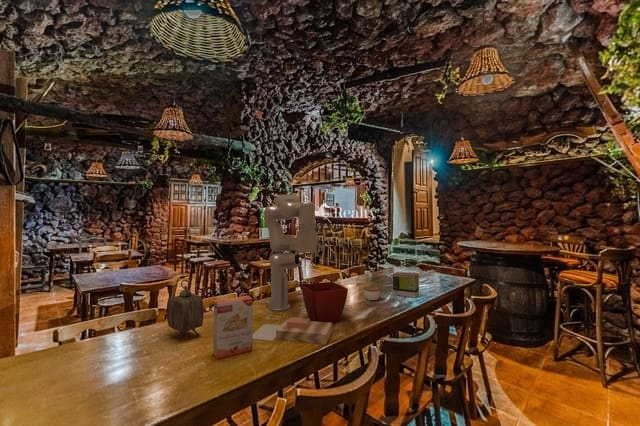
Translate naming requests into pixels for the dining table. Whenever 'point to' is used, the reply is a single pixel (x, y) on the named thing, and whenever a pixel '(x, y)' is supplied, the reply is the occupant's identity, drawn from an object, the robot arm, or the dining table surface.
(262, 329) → the mat
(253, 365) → the dining table surface
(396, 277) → the tea box
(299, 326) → the block
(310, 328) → the board
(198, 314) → the tabletop clock
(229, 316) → the cracker box
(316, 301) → the plant pot
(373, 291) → the lidded jar
